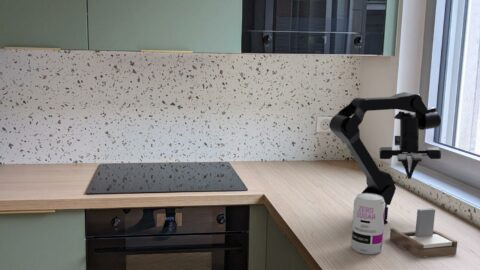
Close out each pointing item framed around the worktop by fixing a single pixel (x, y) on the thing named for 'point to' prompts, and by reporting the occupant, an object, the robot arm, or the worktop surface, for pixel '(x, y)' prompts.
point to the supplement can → (368, 223)
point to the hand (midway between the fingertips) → (409, 178)
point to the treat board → (417, 247)
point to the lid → (428, 230)
